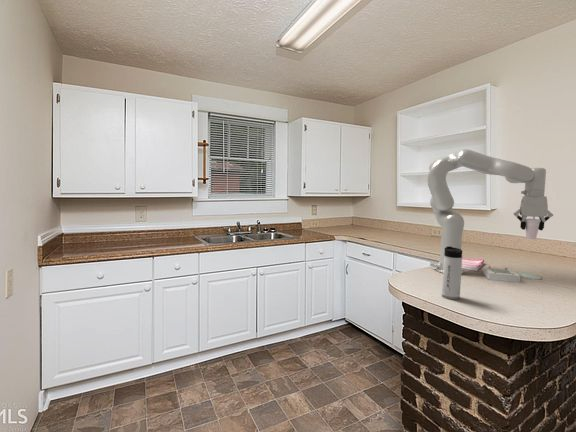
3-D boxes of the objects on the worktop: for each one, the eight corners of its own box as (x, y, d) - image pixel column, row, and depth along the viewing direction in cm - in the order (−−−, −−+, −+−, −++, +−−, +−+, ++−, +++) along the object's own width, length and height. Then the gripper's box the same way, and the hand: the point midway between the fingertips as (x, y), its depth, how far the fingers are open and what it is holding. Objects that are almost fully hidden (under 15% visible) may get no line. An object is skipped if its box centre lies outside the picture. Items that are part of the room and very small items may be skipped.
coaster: (520, 278, 147) (520, 276, 147) (513, 272, 156) (513, 271, 156) (545, 280, 143) (545, 279, 143) (536, 275, 152) (536, 273, 152)
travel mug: (453, 294, 123) (456, 246, 121) (463, 300, 116) (466, 249, 114) (438, 294, 123) (440, 246, 121) (447, 300, 116) (450, 249, 114)
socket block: (489, 279, 144) (489, 271, 143) (483, 273, 155) (483, 265, 155) (519, 282, 139) (519, 274, 139) (510, 275, 150) (511, 267, 150)
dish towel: (485, 264, 175) (485, 258, 175) (477, 272, 158) (477, 266, 158) (452, 260, 187) (453, 254, 186) (442, 266, 169) (442, 260, 169)
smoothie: (533, 239, 144) (535, 211, 142) (519, 237, 150) (521, 210, 149) (542, 239, 145) (545, 210, 144) (529, 237, 152) (531, 210, 150)
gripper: (515, 193, 145) (513, 229, 147) (560, 193, 139) (557, 231, 141) (510, 193, 152) (508, 228, 154) (553, 193, 146) (550, 229, 148)
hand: (531, 229), depth 147 cm, fingers closed on smoothie, 6 cm apart
